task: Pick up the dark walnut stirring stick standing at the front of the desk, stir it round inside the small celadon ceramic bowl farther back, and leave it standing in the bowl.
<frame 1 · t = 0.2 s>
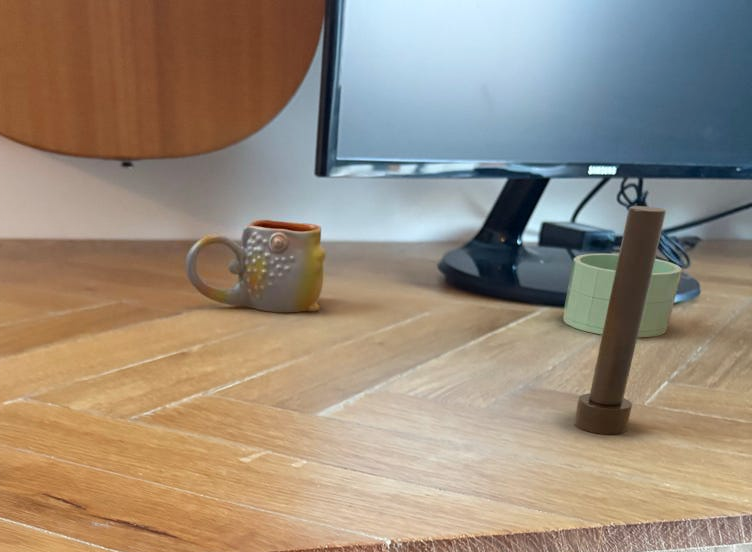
stick: (599, 425, 62), on the table
bowl: (614, 324, 85), on the table
mug: (253, 308, 86), on the table
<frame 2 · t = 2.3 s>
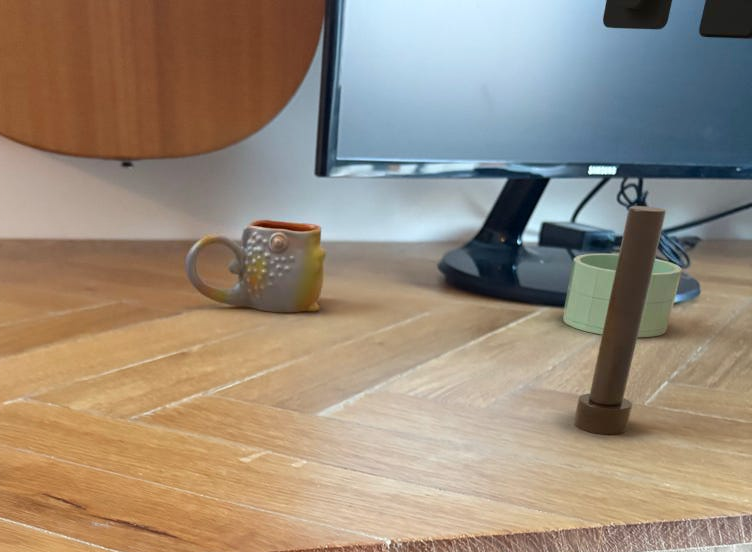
hand: (682, 33, 51), 21 cm above the table, tool pointing down, fingers open, 9 cm apart
nothing on the table moved.
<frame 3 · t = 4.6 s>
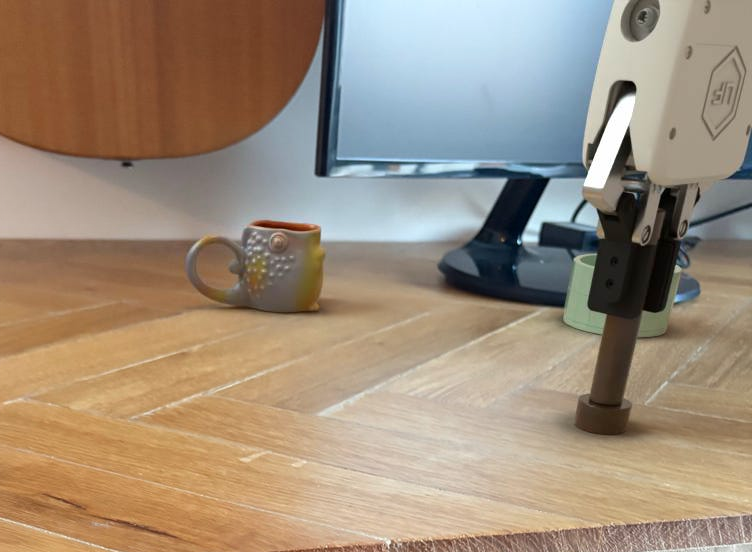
hand: (625, 308, 58), 7 cm above the table, tool pointing down, fingers closed on stick, 2 cm apart
stick: (600, 425, 62), on the table, touching gripper
everything else where it was.
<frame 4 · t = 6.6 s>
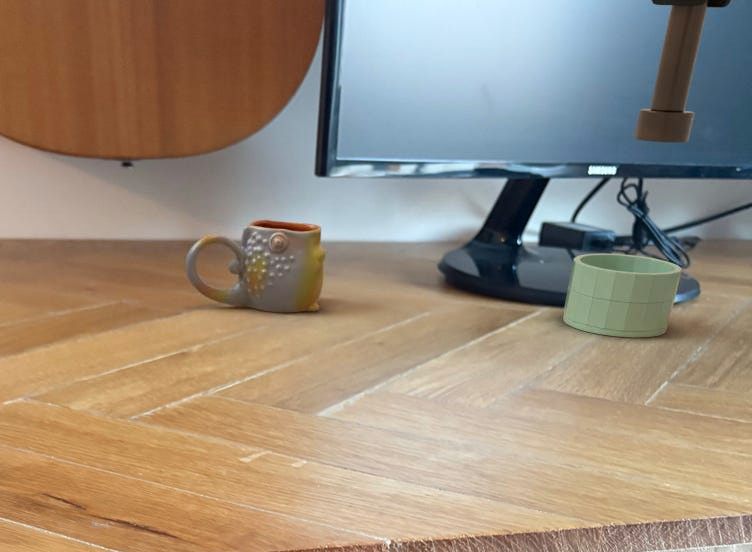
hand: (690, 3, 58), 23 cm above the table, tool pointing down, fingers closed on stick
stick: (660, 140, 61), point 15 cm above the table, touching gripper
everything else where it was.
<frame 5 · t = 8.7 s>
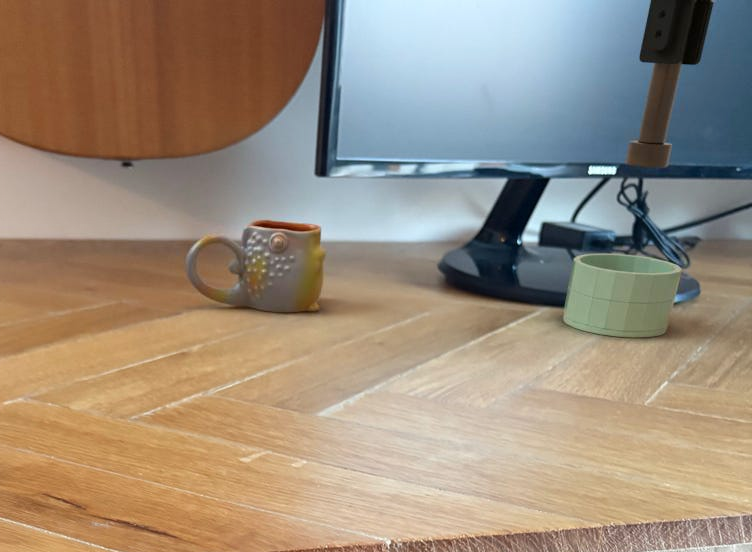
hand: (669, 61, 75), 20 cm above the table, tool pointing down, fingers closed on stick
stick: (646, 165, 79), point 12 cm above the table, touching gripper
everything else where it was.
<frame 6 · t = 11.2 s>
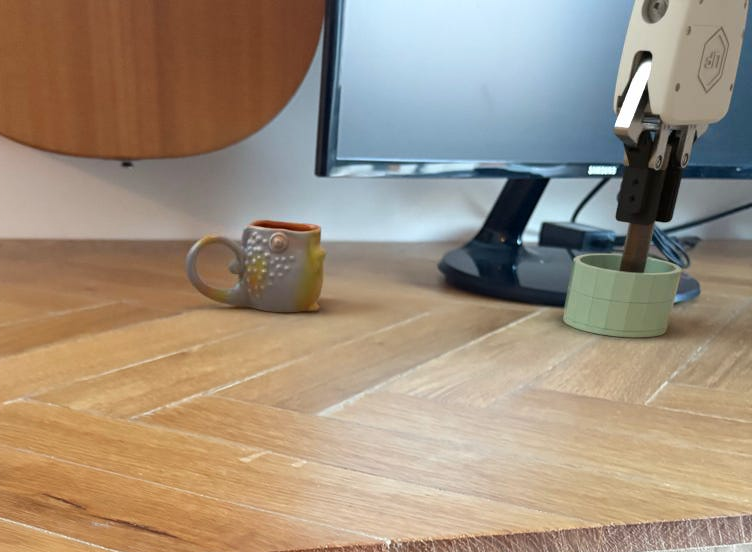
hand: (643, 219, 80), 8 cm above the table, tool pointing down, fingers closed on stick, 2 cm apart
stick: (623, 309, 84), point 1 cm above the table, touching gripper
everything else where it was.
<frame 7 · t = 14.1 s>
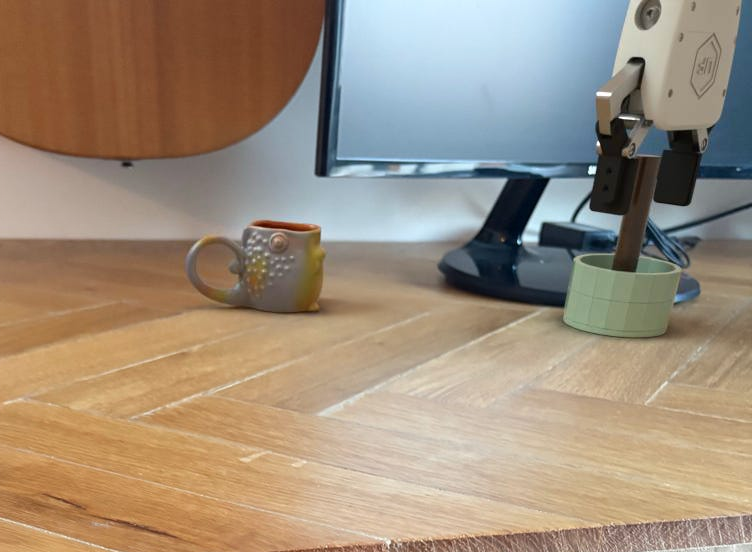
hand: (640, 208, 80), 9 cm above the table, tool pointing down, fingers open, 9 cm apart
stick: (613, 318, 85), resting on bowl
everything else where it was.
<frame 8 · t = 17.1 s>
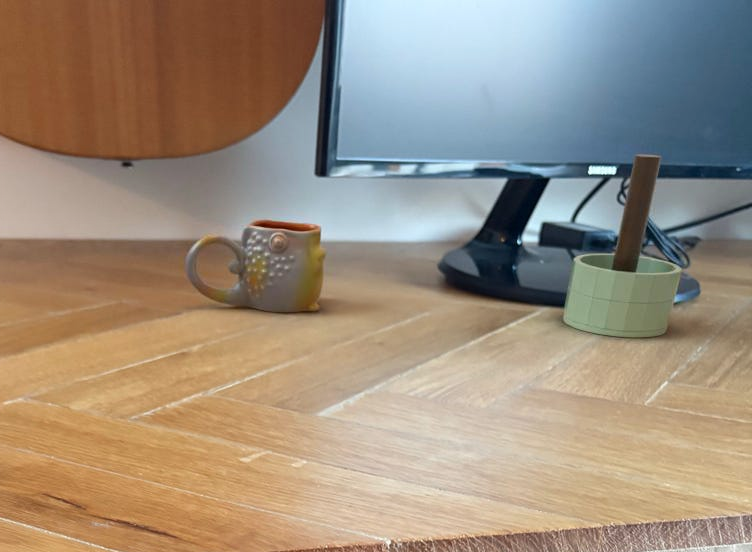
nothing on the table moved.
at the end: stick 0.2 cm off-centre in the bowl, point 0.5 cm above the bowl's base; stick tilted 0°; the gripper is holding nothing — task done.
